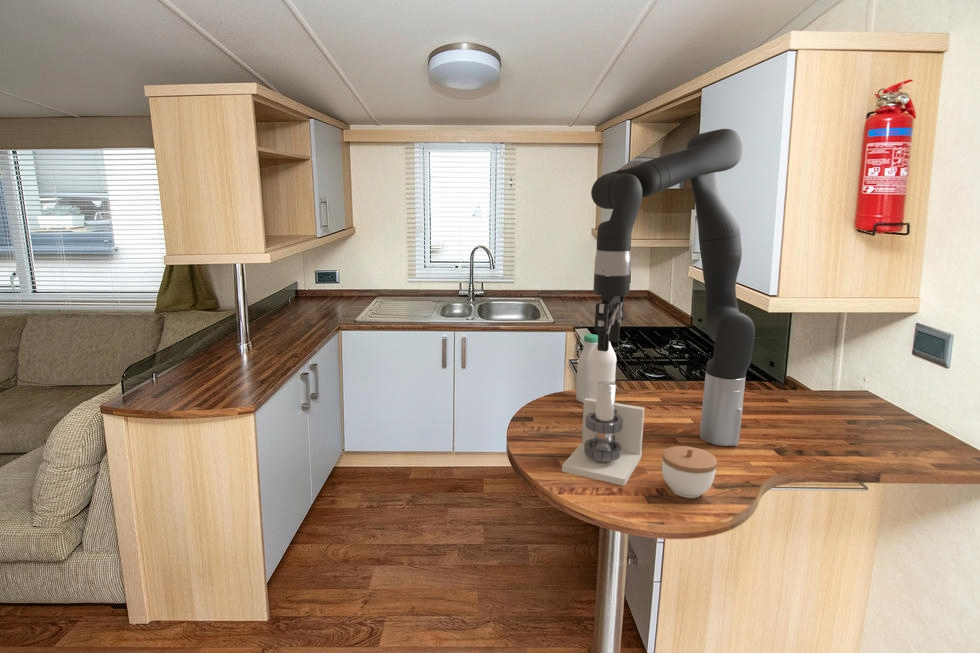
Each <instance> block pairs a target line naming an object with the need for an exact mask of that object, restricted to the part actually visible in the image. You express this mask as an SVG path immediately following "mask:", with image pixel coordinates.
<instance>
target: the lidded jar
mask: <svg viewBox="0 0 980 653" xmlns="http://www.w3.org/2000/svg"><path fill="white" fill-rule="evenodd" d="M661 458H662V466H661V468H662V469H661V470H662V476H663V479H664V482H665V484H666V485H667V486H668V487H669V488H670V490H671V492H672V491H673V492H674V493H673V492H672V493H673V494H675V495H676V496H678V495H679V496H678V497H681V496H682V498H685V497H686V498H685V499H696V497H697V498H700V497H701V496H702V495H703V494H704V493H706V492H707V491H709V490H710V488H711V486H712V485H713V483H714V480H715V477H716V470H717V469H716V468H717V467H718V459H717V458H716V457H715V456H714V454H712V453H710V452H708V451H706V450H704V449H702V448H697V447H692V446H687V445H686V446H685V445H681V446H679V445H676V446H670V447H667V448H665V449H664V450H663V451H662V455H661ZM701 494H702V495H701ZM700 495H701V496H700ZM699 496H700V497H699Z"/></svg>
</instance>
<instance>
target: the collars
mask: <svg viewBox="0 0 980 653" xmlns="http://www.w3.org/2000/svg"><path fill="white" fill-rule="evenodd" d="M595 418H596V412H592V413H589V414H588V415H587V416H586V420H585V425H586V427H587V429H589V430H591V431H593V432H597V433H604V434H614V433H617V432H620V431H621V430H622V429H623V419H622V417H621V416H619V415H617V409H614V423H600V422H596V421H595ZM584 453H585V455H586V456H587V457H589V458H591V459H593V460H598V461H614V460H617V459H619V458H620V456H621V445H620V444H619V443H618V442H616V441H615V435H613V439H612V450H611V451H600V450H595V449H594V438H593V439H589V440H587V441H586V442H585V443H584Z"/></svg>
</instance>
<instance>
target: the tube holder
mask: <svg viewBox="0 0 980 653" xmlns="http://www.w3.org/2000/svg"><path fill="white" fill-rule="evenodd" d="M582 408H583V411H582V429H581V430H582V431H581V432H582V433H581V434H582V435H581V443H579V446H577V448H576V449H575V450H574V451H573V452H572V453H571V455H570V456H569V457H568V458H567V459H566V460H565V462H564V463H563V464H562V465H561V472H564V473H566V474H571V475H575V476H580V477H584V478H587V479H588V478H589V479H593V480H597V481H601V482H606V483H609V484H613V485H619V486H623V487H625V486H626V484H627V483H628V480H629V479H630V477H631V475H632V473H633V472H634V471H635V468H636V467H637V465H638V464H639V462H640V460H641V459H642V455H643V451H642V450H643V449H642V446H643V433H644V432H643V430H644V421H645V407H643V406H642V407H641V406H635V405H630V404H623V403H619V402H615V408H614V409H617V415H619V416H621V417H622V419H623V429H622V430H621V431H620V432H617V433H614V434H613V435H615V441H616V442H618V443H619V444H620V445H621V456H620V458H619V459H617V460H614V461H611V462H609V463H605V464H603V463H598V462H595V461H594V460H593V459H591V458H589V457H587V456H586V455H585V453H584V443H585V442H586V441H587V440H589V439H593V438H594V436H595V432H593V431H591V430H589V429H587V427H586V425H585V420H586V416H587V415H588V414H589V413H592V412H596V399H590V398H585V399H584V403H583V406H582Z"/></svg>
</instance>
